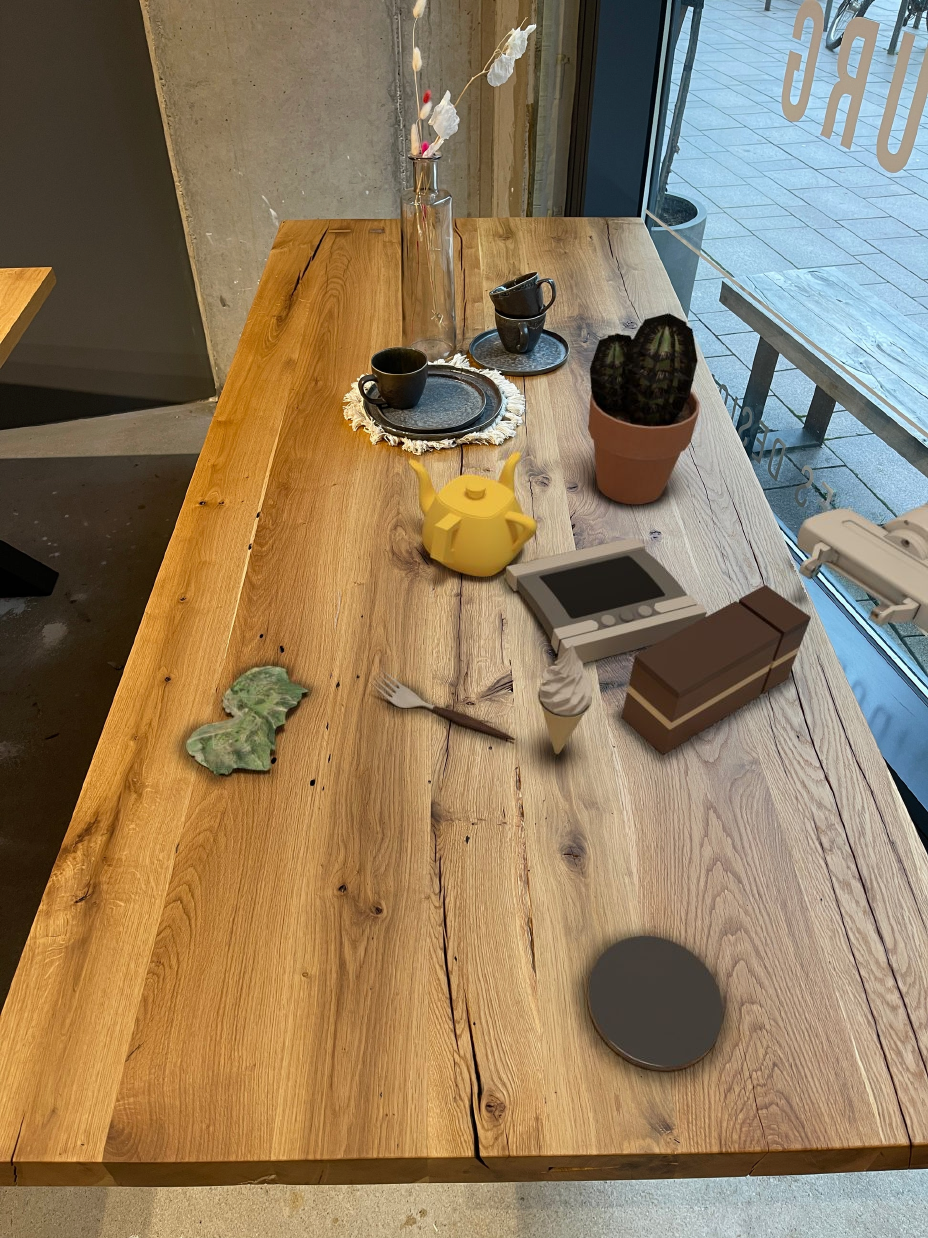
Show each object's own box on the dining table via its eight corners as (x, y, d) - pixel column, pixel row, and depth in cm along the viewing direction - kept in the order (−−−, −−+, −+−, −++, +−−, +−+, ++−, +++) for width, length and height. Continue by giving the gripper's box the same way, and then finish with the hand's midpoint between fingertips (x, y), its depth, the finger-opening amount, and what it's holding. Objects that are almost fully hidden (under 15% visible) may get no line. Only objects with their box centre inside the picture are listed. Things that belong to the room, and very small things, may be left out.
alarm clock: (565, 648, 96) (506, 547, 106) (560, 676, 99) (503, 575, 109) (707, 611, 100) (637, 518, 110) (697, 639, 104) (630, 546, 114)
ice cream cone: (527, 767, 88) (538, 658, 78) (536, 728, 92) (549, 619, 82) (578, 777, 88) (597, 669, 77) (586, 738, 91) (605, 629, 81)
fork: (509, 752, 90) (510, 739, 88) (369, 696, 95) (368, 682, 93) (520, 734, 91) (521, 721, 90) (382, 679, 96) (381, 666, 95)
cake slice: (745, 645, 101) (765, 584, 95) (787, 678, 98) (811, 617, 92) (720, 660, 100) (739, 598, 93) (762, 694, 96) (784, 632, 90)
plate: (702, 937, 76) (704, 933, 75) (736, 1068, 68) (739, 1064, 68) (578, 942, 75) (579, 938, 75) (598, 1075, 68) (599, 1070, 67)
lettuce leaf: (264, 786, 86) (262, 776, 85) (172, 766, 87) (169, 756, 86) (320, 674, 97) (318, 664, 96) (237, 658, 98) (234, 647, 97)
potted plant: (656, 452, 130) (689, 279, 113) (698, 508, 120) (741, 327, 103) (565, 465, 127) (585, 289, 110) (601, 522, 117) (629, 339, 100)
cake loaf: (717, 662, 99) (735, 600, 93) (759, 696, 96) (781, 634, 90) (621, 716, 93) (634, 654, 87) (662, 755, 90) (679, 693, 84)
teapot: (515, 513, 118) (519, 447, 112) (539, 579, 109) (546, 511, 102) (409, 522, 117) (408, 456, 110) (424, 591, 107) (424, 522, 100)
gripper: (849, 485, 110) (773, 523, 104) (1006, 576, 98) (929, 625, 92) (834, 527, 115) (759, 566, 109) (982, 619, 103) (908, 668, 97)
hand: (839, 594), depth 100 cm, fingers open, 8 cm apart
